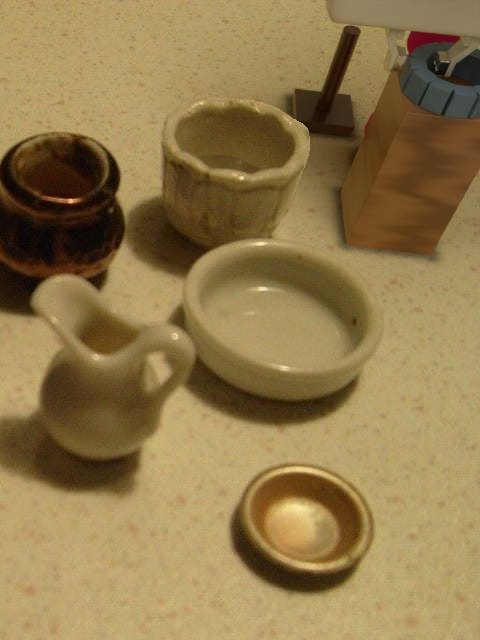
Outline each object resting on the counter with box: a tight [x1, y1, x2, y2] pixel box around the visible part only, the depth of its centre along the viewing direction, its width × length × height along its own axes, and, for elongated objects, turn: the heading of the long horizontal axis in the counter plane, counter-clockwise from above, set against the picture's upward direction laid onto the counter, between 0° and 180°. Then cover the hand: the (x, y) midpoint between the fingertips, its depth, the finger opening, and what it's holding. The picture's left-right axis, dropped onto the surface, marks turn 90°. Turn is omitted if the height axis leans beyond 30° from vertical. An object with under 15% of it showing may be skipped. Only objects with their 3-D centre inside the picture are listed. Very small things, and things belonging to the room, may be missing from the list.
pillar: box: [340, 62, 480, 256], centre depth 89 cm, size 9×9×17 cm
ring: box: [399, 42, 480, 119], centre depth 82 cm, size 9×9×2 cm
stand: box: [291, 24, 362, 138], centre depth 104 cm, size 7×7×12 cm
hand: (415, 70), depth 82 cm, fingers open, 3 cm apart
